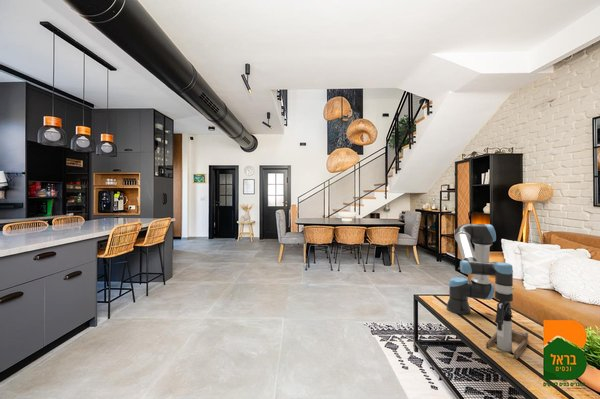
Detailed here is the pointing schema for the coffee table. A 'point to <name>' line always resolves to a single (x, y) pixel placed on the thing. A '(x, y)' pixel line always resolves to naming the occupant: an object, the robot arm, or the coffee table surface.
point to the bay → (516, 337)
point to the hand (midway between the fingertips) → (504, 332)
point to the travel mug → (506, 335)
